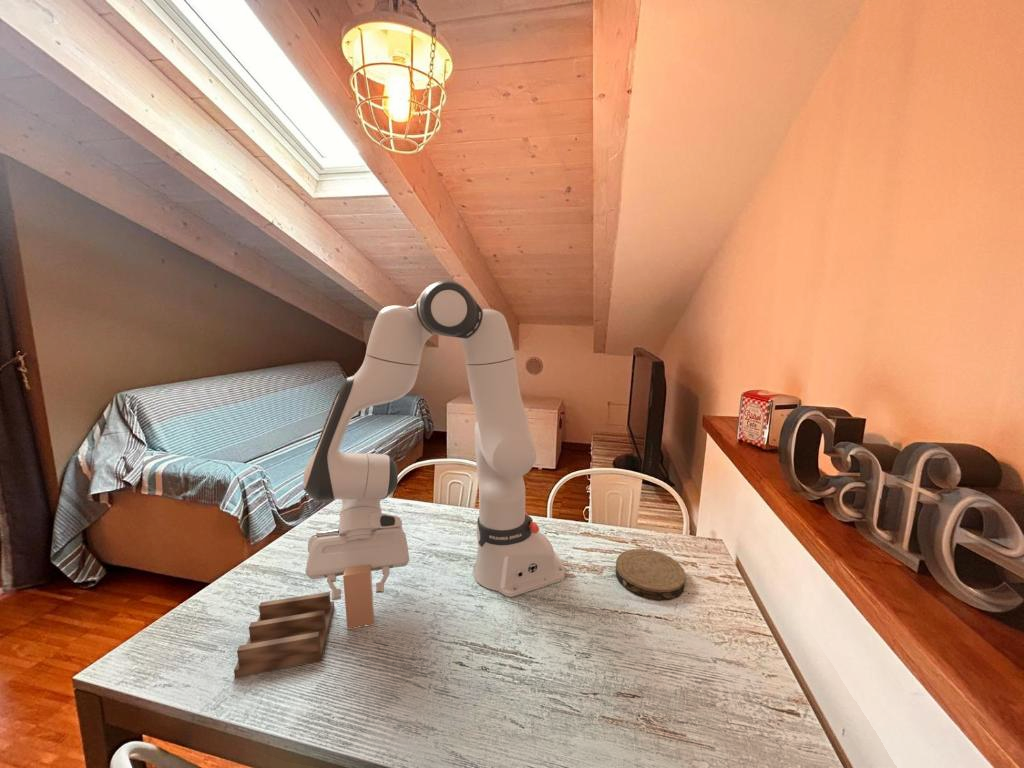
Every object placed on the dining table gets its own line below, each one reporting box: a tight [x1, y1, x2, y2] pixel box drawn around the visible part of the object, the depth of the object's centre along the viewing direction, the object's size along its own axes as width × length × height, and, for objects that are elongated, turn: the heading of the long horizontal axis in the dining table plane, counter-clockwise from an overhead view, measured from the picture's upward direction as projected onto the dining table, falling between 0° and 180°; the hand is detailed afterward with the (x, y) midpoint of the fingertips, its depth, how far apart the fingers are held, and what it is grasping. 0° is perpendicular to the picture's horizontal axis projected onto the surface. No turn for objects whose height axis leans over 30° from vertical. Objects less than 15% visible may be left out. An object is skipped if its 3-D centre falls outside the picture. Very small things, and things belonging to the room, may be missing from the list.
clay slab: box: [342, 565, 375, 630], centre depth 82 cm, size 5×2×12 cm, turn 105°
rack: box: [233, 591, 335, 678], centre depth 79 cm, size 14×14×4 cm
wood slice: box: [615, 548, 687, 602], centre depth 98 cm, size 16×16×3 cm
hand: (358, 596), depth 82 cm, fingers open, 7 cm apart
